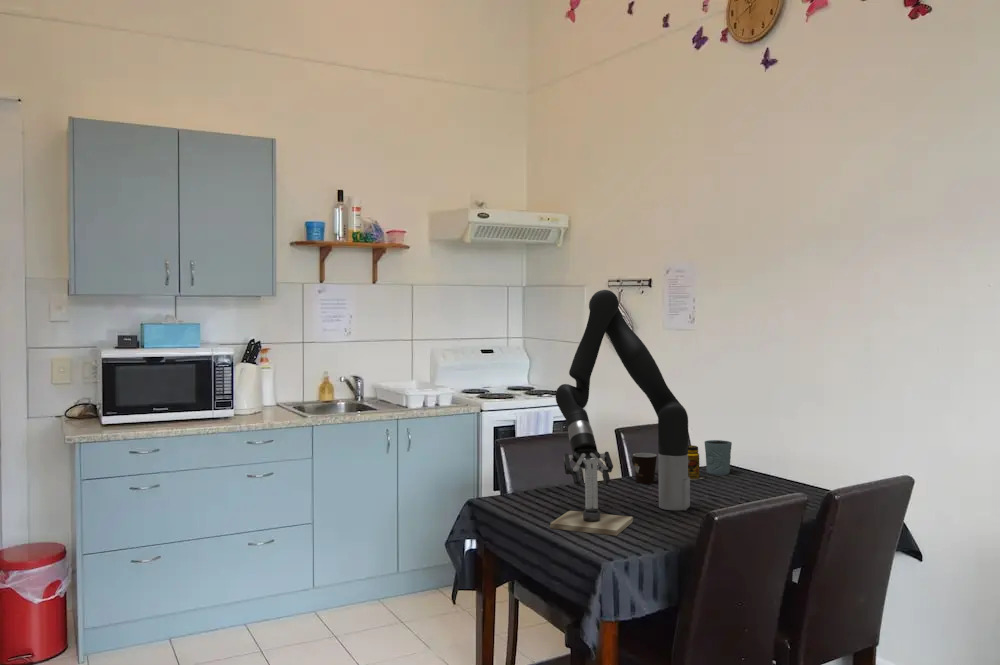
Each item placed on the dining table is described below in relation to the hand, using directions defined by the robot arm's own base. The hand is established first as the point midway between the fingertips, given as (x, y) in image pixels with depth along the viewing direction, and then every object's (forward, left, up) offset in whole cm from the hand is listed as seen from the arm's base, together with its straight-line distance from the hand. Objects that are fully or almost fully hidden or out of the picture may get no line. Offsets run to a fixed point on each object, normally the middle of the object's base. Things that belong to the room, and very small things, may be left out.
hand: (592, 483), depth 233 cm
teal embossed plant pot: (-19, -92, -13) cm, 95 cm away
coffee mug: (+3, -66, -13) cm, 67 cm away
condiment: (-11, -79, -13) cm, 81 cm away
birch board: (+1, -1, -12) cm, 12 cm away
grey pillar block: (+1, -1, -11) cm, 11 cm away
